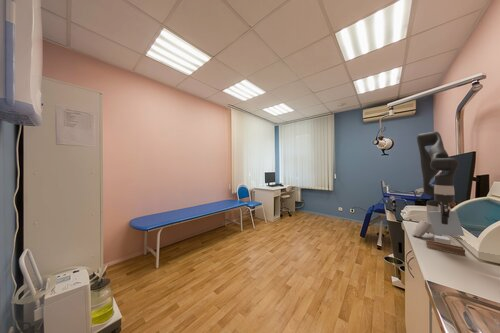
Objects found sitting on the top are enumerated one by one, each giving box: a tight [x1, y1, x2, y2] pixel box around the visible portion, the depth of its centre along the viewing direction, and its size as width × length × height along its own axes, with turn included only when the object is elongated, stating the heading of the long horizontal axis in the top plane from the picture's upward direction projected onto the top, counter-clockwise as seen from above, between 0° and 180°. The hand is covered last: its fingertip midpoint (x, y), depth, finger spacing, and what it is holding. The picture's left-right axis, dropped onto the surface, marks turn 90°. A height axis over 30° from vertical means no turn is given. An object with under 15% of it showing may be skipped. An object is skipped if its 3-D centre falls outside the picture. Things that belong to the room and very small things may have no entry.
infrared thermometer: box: [412, 219, 443, 238], centre depth 112 cm, size 5×12×15 cm
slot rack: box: [425, 239, 466, 257], centre depth 95 cm, size 5×14×3 cm, turn 47°
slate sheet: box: [428, 210, 465, 237], centre depth 95 cm, size 2×11×13 cm, turn 47°
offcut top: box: [433, 235, 452, 245], centre depth 102 cm, size 5×6×2 cm
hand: (444, 223), depth 95 cm, fingers closed on slate sheet
